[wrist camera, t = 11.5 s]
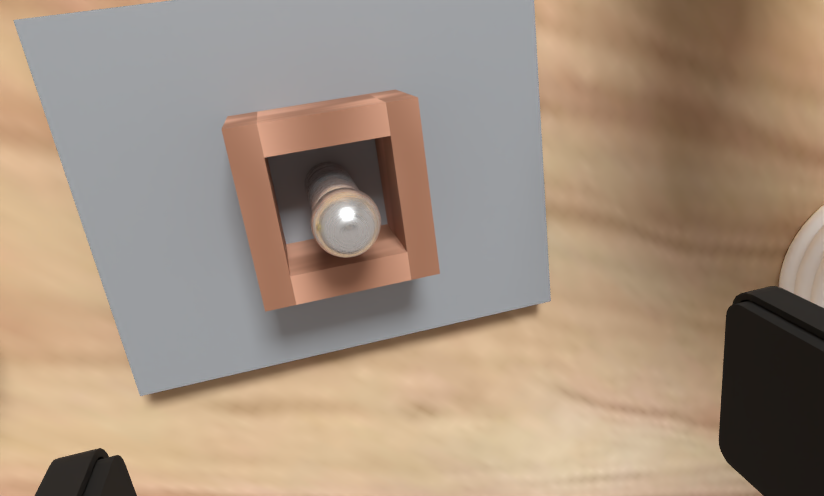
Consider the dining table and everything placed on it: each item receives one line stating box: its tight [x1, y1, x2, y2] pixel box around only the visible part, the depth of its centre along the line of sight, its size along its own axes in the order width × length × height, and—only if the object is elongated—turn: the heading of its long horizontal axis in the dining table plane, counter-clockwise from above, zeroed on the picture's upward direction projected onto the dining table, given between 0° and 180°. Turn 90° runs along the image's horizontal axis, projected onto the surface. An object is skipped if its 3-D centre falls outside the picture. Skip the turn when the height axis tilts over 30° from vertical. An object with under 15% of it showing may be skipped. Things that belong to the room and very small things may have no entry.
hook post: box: [305, 162, 381, 258], centre depth 23 cm, size 2×2×7 cm
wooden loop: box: [221, 89, 440, 312], centre depth 24 cm, size 7×7×4 cm
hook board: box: [14, 0, 551, 396], centre depth 27 cm, size 20×16×2 cm
